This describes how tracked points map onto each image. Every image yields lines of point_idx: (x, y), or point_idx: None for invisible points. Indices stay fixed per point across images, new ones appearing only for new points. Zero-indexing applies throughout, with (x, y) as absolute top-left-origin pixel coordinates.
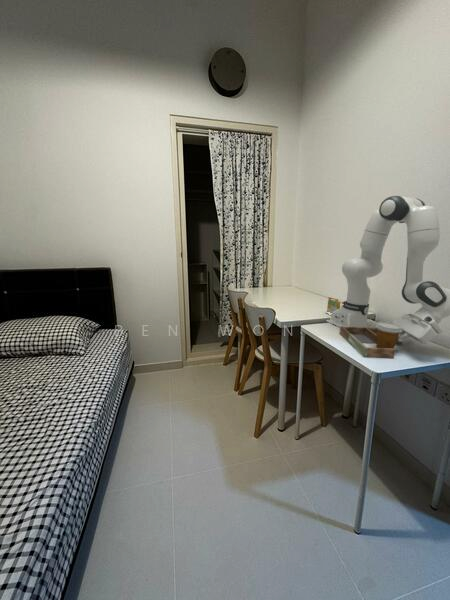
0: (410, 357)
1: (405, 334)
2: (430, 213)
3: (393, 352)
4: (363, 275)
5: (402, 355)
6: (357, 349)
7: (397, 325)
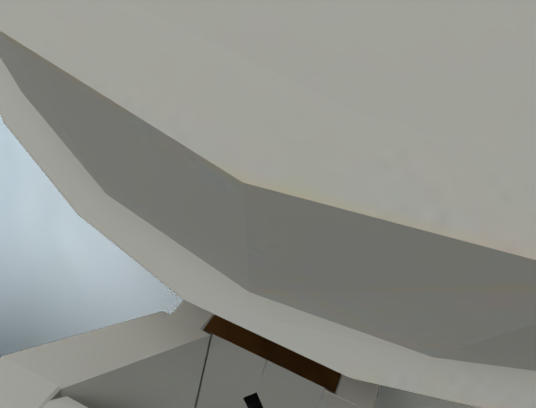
0: None
1: (23, 393)
2: None
3: None
4: None
5: (158, 295)
6: None
7: (424, 141)
